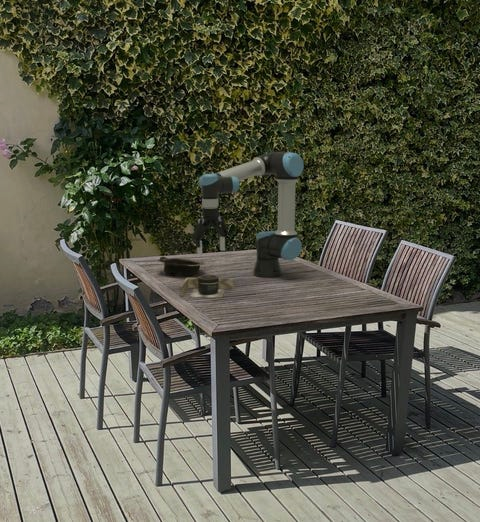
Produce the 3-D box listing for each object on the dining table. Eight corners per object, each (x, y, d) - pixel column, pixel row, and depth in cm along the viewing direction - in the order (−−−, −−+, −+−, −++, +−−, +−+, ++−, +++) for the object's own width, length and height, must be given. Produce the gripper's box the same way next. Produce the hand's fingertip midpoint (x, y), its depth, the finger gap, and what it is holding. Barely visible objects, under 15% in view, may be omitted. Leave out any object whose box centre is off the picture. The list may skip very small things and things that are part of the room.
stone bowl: (151, 276, 387) (151, 259, 386) (171, 270, 411) (171, 254, 410) (194, 279, 379) (194, 261, 378) (212, 273, 402) (213, 256, 401)
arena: (233, 288, 362) (233, 278, 361) (229, 298, 343) (229, 287, 342) (186, 287, 364) (186, 277, 363) (179, 297, 345) (179, 286, 344)
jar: (194, 291, 354) (194, 275, 353) (214, 289, 358) (213, 274, 357) (202, 296, 345) (202, 280, 344) (222, 294, 349) (222, 278, 348)
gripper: (225, 204, 356) (226, 247, 361) (183, 209, 341) (185, 254, 345) (236, 205, 351) (236, 249, 355) (193, 211, 335) (194, 257, 339)
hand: (211, 252), depth 350 cm, fingers open, 13 cm apart
